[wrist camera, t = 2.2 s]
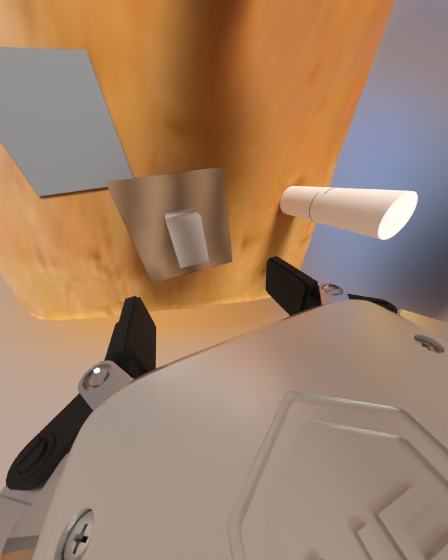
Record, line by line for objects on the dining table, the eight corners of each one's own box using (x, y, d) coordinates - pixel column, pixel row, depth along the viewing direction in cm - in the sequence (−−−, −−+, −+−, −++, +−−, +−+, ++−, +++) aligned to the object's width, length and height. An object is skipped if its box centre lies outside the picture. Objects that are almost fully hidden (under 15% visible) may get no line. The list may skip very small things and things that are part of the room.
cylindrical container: (303, 204, 47) (412, 222, 27) (284, 219, 47) (376, 248, 27) (298, 180, 42) (422, 180, 22) (276, 196, 43) (380, 211, 23)
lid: (220, 167, 23) (241, 162, 17) (230, 259, 31) (246, 276, 26) (107, 181, 20) (86, 182, 14) (152, 279, 28) (150, 305, 22)
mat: (87, 52, 22) (85, 49, 22) (135, 183, 31) (135, 183, 31) (-62, 47, 19) (-66, 45, 19) (40, 196, 28) (38, 196, 28)
